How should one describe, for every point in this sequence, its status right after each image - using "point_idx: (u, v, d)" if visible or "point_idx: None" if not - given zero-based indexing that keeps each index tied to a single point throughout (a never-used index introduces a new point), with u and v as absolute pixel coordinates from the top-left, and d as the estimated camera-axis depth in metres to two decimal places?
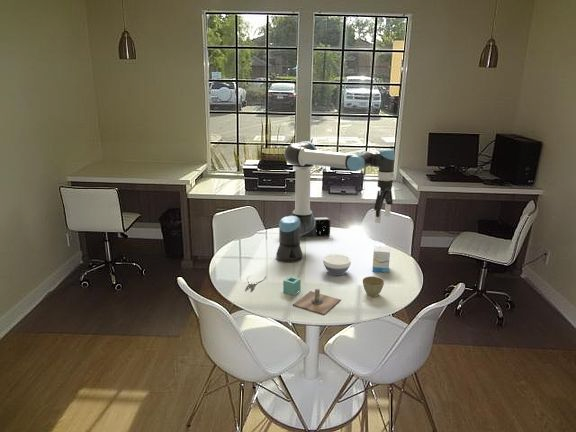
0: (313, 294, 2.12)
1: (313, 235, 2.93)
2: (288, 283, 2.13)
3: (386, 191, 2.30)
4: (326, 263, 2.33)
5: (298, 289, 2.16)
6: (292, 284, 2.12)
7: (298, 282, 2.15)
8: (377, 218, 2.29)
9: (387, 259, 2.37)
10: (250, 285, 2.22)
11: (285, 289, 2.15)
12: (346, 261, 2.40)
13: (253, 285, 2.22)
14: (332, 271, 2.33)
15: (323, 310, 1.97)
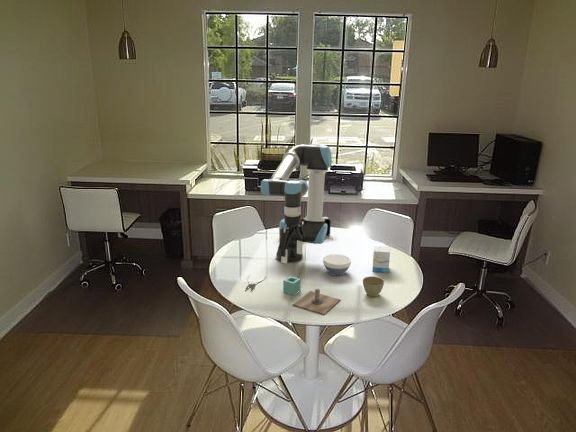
0: (313, 294, 2.12)
1: None
2: (288, 283, 2.13)
3: (293, 228, 2.06)
4: (326, 263, 2.33)
5: (298, 289, 2.16)
6: (292, 284, 2.12)
7: (298, 282, 2.15)
8: (283, 258, 2.05)
9: (387, 259, 2.37)
10: (250, 285, 2.22)
11: (285, 289, 2.15)
12: (346, 261, 2.40)
13: (253, 285, 2.22)
14: (332, 271, 2.33)
15: (323, 310, 1.97)
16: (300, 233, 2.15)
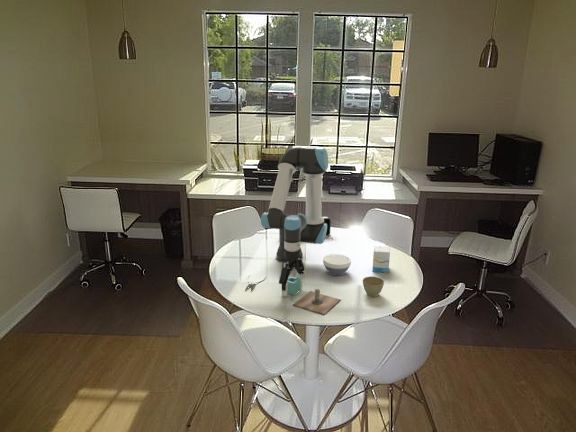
0: (313, 294, 2.12)
1: None
2: (288, 283, 2.13)
3: (293, 262, 2.10)
4: (326, 263, 2.33)
5: (298, 289, 2.16)
6: (292, 284, 2.12)
7: (298, 282, 2.15)
8: (283, 291, 2.11)
9: (387, 259, 2.37)
10: (250, 285, 2.22)
11: None
12: (346, 261, 2.40)
13: (253, 285, 2.22)
14: (332, 271, 2.33)
15: (323, 310, 1.97)
16: (299, 266, 2.20)
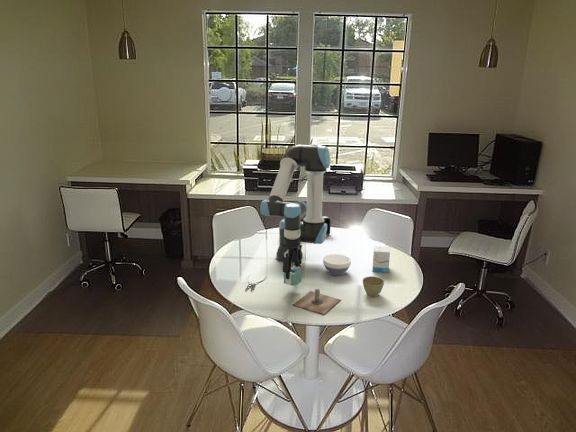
0: (313, 294, 2.12)
1: None
2: None
3: (293, 250, 2.09)
4: (326, 263, 2.33)
5: (299, 280, 2.15)
6: (292, 275, 2.11)
7: (298, 273, 2.14)
8: (287, 280, 2.12)
9: (387, 259, 2.37)
10: None
11: None
12: (346, 261, 2.40)
13: (253, 285, 2.22)
14: (332, 271, 2.33)
15: (323, 310, 1.97)
16: (297, 257, 2.17)
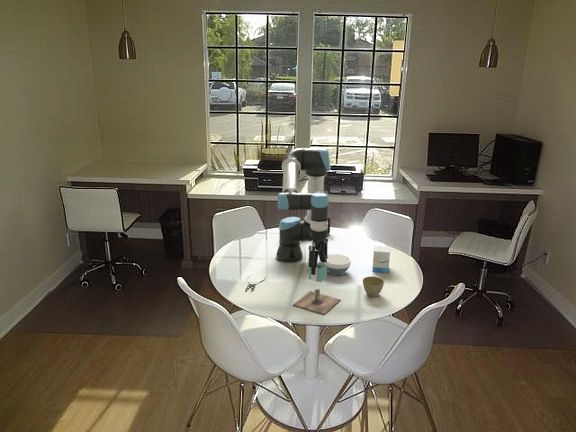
0: (313, 294, 2.12)
1: None
2: None
3: (320, 243, 1.95)
4: (326, 263, 2.33)
5: (324, 276, 2.01)
6: (319, 270, 1.97)
7: (325, 268, 2.00)
8: (313, 276, 1.98)
9: (387, 259, 2.37)
10: (250, 285, 2.22)
11: None
12: (346, 261, 2.40)
13: (253, 285, 2.22)
14: (332, 271, 2.33)
15: (323, 310, 1.97)
16: None
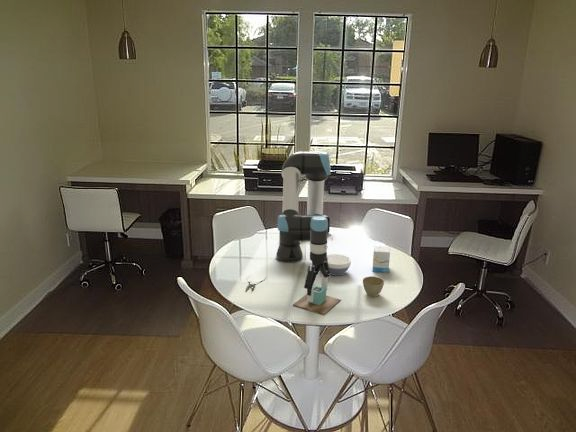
0: None
1: None
2: (313, 293, 2.01)
3: (319, 265, 1.98)
4: None
5: (324, 299, 2.04)
6: (318, 294, 2.00)
7: (324, 292, 2.03)
8: (309, 296, 1.98)
9: (387, 259, 2.37)
10: (250, 285, 2.22)
11: None
12: (346, 261, 2.40)
13: (253, 285, 2.22)
14: (332, 271, 2.33)
15: (323, 310, 1.97)
16: (325, 269, 2.08)
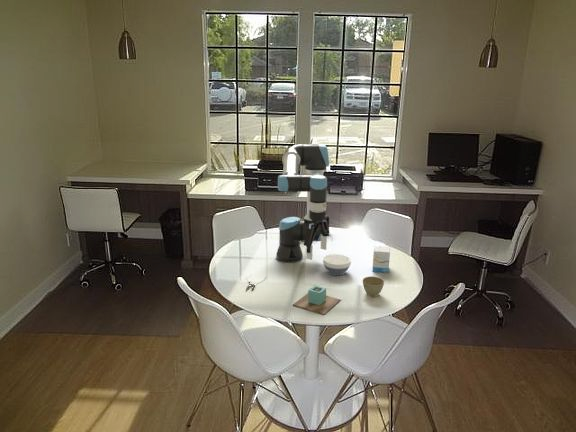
0: None
1: None
2: (313, 293, 2.01)
3: (318, 223, 2.01)
4: (326, 263, 2.33)
5: (324, 299, 2.04)
6: (318, 294, 2.00)
7: (324, 292, 2.03)
8: (308, 254, 2.02)
9: (387, 259, 2.37)
10: (251, 285, 2.22)
11: (310, 299, 2.03)
12: (346, 261, 2.40)
13: (254, 285, 2.22)
14: (332, 271, 2.33)
15: (323, 310, 1.97)
16: (324, 228, 2.11)
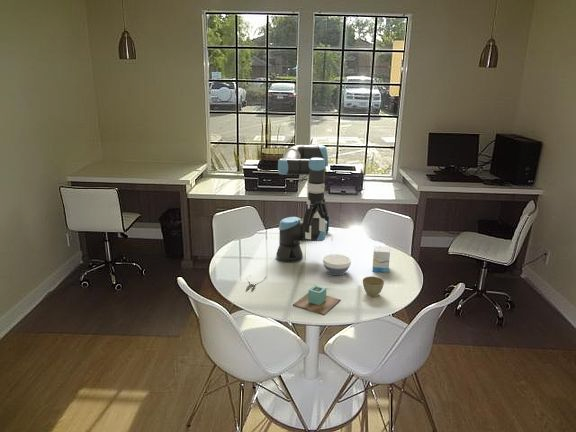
0: None
1: None
2: (313, 293, 2.01)
3: (317, 204, 2.09)
4: (326, 263, 2.33)
5: (324, 299, 2.04)
6: (318, 294, 2.00)
7: (324, 292, 2.03)
8: (307, 234, 2.09)
9: (387, 259, 2.37)
10: (251, 285, 2.21)
11: (310, 299, 2.03)
12: (346, 261, 2.40)
13: (254, 285, 2.22)
14: (332, 271, 2.33)
15: (323, 310, 1.97)
16: (323, 210, 2.19)
